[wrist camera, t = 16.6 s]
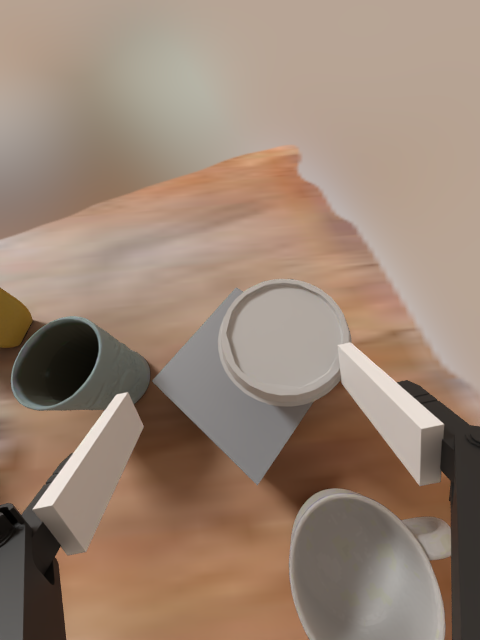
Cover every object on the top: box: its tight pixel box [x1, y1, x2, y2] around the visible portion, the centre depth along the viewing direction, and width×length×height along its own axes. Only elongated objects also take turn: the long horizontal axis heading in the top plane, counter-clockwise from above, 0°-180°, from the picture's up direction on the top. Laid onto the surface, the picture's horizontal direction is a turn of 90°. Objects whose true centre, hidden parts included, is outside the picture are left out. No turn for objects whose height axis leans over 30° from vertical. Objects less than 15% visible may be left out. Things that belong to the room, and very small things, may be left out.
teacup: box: [289, 488, 451, 640], centre depth 21 cm, size 14×11×8 cm
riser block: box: [152, 288, 314, 485], centre depth 30 cm, size 16×16×6 cm
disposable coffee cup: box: [218, 279, 351, 407], centre depth 22 cm, size 10×10×12 cm
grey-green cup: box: [11, 316, 150, 411], centre depth 30 cm, size 10×10×12 cm
